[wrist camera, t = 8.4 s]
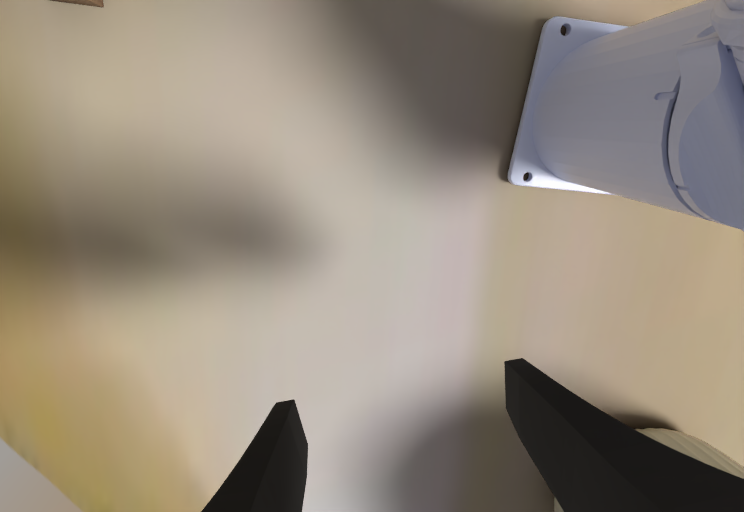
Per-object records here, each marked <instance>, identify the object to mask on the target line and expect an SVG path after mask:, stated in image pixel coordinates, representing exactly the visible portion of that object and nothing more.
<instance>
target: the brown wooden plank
mask: <svg viewBox="0 0 744 512" xmlns="http://www.w3.org/2000/svg"><path fill="white" fill-rule="evenodd" d="M52 1H59V2H67V3H74V4H82V5H89V6H97V7H104V6H103V0H52Z"/></svg>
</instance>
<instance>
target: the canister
mask: <svg viewBox="0 0 744 512" xmlns="http://www.w3.org/2000/svg"><path fill="white" fill-rule="evenodd" d="M635 430H636V431H638V432H640V433H642V434H644V435H646V436H648V437H650V438H652V439H654V440H656V441H658V442H660V443H662V444H664V445H666V446H668V447H670V448H672V449H675V450H677V451H679V452H681V453H683V454H686V455H688V456H690V457H692V458H695V459H697V460H699V461H701V462H704V463H706V464H708V465H711V466H713V467H715V468H718V469H720V470H723V471H725V472H728V473H730V474H733V475H735V476H738V477H740V478H743V479H744V467H743V466H741V465H740V464H739V463H737V462H736V461H734V460H733V459H731V458H730V457H728V456H727V455H725V454H724V453H722V452H721V451H719V450H717V449H716V448H714V447H712V446H711V445H709V444H708V443H706V442H704V441H702V440H700V439H698V438H695V437H693V436H690V435H687V434H684V433H682V432H679V431H674V430H668V429H663V428H657V429H654V428H645V429H635ZM554 512H564V511H563V510H562V508H561V506H560V504H559V503H558V501H557V499H556V498H555V496H554Z"/></svg>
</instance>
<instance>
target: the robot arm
mask: <svg viewBox="0 0 744 512" xmlns="http://www.w3.org/2000/svg"><path fill="white" fill-rule="evenodd" d="M562 25H563V26H565V27H566V34H565V36H563V35H561V33H560V29H561V27H562ZM527 172H528V173H529V177H528V179H527V180H525V181H524V180H523V176H524V174H525V173H527ZM508 181H509V182H510V183H512V184H514V185H520V186H530V187H540V188H550V189H560V190H570V191H580V192H590V193H600V194H610V195H618V196H622V197H626V198H629V199H633V200H637V201H640V202H644V203H648V204H651V205H655V206H659V207H662V208H666V209H670V210H673V211H677V212H681V213H684V214H688V215H692V216H695V217H699V218H703V219H706V220H711V221H714V222H717V223H720V224H724V225H727V226H731V227H735V228H738V229H741V230H743V231H744V0H706V1H703V2H700V3H697V4H694V5H691V6H688V7H685V8H682V9H680V10H677V11H674V12H671V13H668V14H665V15H662V16H659V17H656V18H653V19H651V20H648V21H645V22H642V23H639V24H636V25H633V26H630V27H628V26H622V25H615V24H608V23H601V22H594V21H587V20H581V19H574V18H567V17H560V16H556V17H553V18H551V19H549V20H547V21H546V22H545V24H544V26H543V28H542V32H541V36H540V40H539V44H538V49H537V53H536V57H535V61H534V66H533V70H532V74H531V78H530V82H529V87H528V91H527V95H526V99H525V103H524V108H523V112H522V116H521V120H520V125H519V129H518V133H517V137H516V141H515V146H514V150H513V154H512V158H511V162H510V167H509V171H508ZM505 392H506V409H507V412H508V414H509V416H510V418H511V421H512V423H513V425H514V427H515V429H516V431H517V434H518V436H519V438H520V440H521V441H522V443H523V445H524V446H525V448H526V450H527V451H528V453H529V455H530V456H531V458H532V460H533V461H534V463H535V465H536V466H537V468H538V470H539V471H540V473H541V475H542V476H543V478H544V480H545V481H546V483H547V485H548V486H549V488H550V489H551V491H552V493H553V494H554V496H555V498H556V499H557V501H558V503H559V504H560V506H561V508H562V510H563V511H564V512H744V479H743V478H740V477H738V476H735V475H733V474H730V473H728V472H725V471H723V470H720V469H718V468H715V467H713V466H711V465H708V464H706V463H704V462H701V461H699V460H697V459H695V458H692V457H690V456H688V455H686V454H683V453H681V452H679V451H677V450H675V449H672V448H670V447H668V446H666V445H664V444H662V443H660V442H658V441H656V440H654V439H652V438H650V437H648V436H646V435H644V434H642V433H640V432H638V431H636V430H635V429H633V428H631V427H629V426H627V425H625V424H623V423H622V422H620V421H618V420H616V419H614V418H613V417H611V416H609V415H608V414H606V413H604V412H603V411H601V410H599V409H598V408H596V407H594V406H593V405H591V404H589V403H588V402H586V401H585V400H583V399H581V398H580V397H578V396H577V395H575V394H574V393H572V392H571V391H569V390H568V389H566V388H565V387H563V386H562V385H560V384H559V383H557V382H556V381H554V380H553V379H552V378H550V377H549V376H547V375H546V374H544V373H543V372H541V371H540V370H539V369H537V368H536V367H534V366H533V365H532V364H530V363H529V362H527V361H526V360H524V359H523V358H521V359H515V360H509V361H505ZM307 457H308V443H307V440H306V437H305V433H304V430H303V427H302V424H301V420H300V417H299V414H298V410H297V407H296V404H295V400H289V401H283V402H278V403H276V404H275V405H274V407H273V408H272V410H271V411H270V413H269V415H268V416H267V418H266V420H265V421H264V423H263V424H262V426H261V428H260V429H259V431H258V433H257V434H256V436H255V437H254V439H253V440H252V442H251V443H250V445H249V447H248V448H247V450H246V451H245V453H244V454H243V456H242V457H241V459H240V460H239V462H238V463H237V465H236V466H235V467H234V469H233V470H232V472H231V473H230V474H229V476H228V477H227V479H226V480H225V481H224V483H223V484H222V485H221V487H220V488H219V490H218V491H217V492H216V494H215V495H214V496H213V497H212V499H211V500H210V501H209V503H208V504H207V505H206V506H205V508H204V509H203V510H202V511H201V512H302V506H303V499H304V492H305V485H306V478H307Z"/></svg>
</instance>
